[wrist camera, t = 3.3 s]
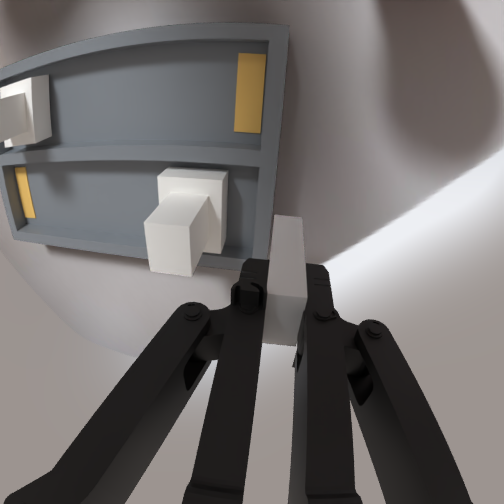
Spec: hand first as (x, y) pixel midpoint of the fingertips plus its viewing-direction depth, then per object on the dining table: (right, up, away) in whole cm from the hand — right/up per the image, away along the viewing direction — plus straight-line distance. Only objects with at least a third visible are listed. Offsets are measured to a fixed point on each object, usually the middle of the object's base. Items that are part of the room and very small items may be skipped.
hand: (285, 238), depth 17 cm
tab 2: (-5, +3, +3) cm, 7 cm away
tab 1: (-19, +10, 0) cm, 22 cm away
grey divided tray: (-12, +8, +4) cm, 15 cm away
